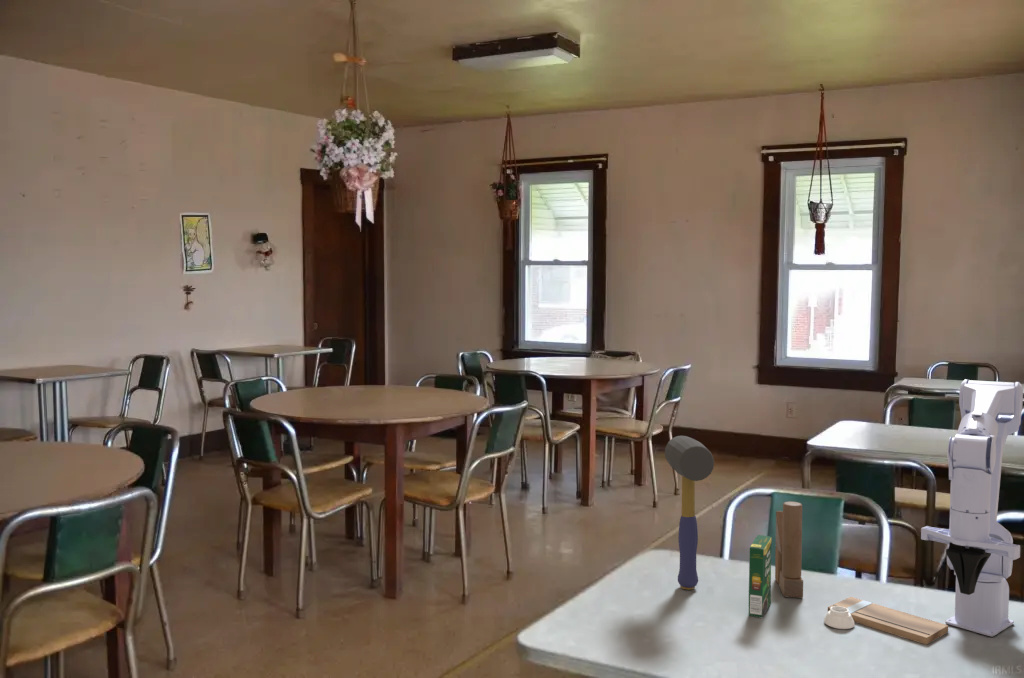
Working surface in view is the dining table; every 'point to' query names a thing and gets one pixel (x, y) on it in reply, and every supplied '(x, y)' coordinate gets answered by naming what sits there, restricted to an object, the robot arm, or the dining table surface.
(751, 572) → the coffee box
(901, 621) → the board
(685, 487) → the rubber mallet
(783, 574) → the wooden block
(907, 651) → the dining table surface
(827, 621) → the lidless jar
